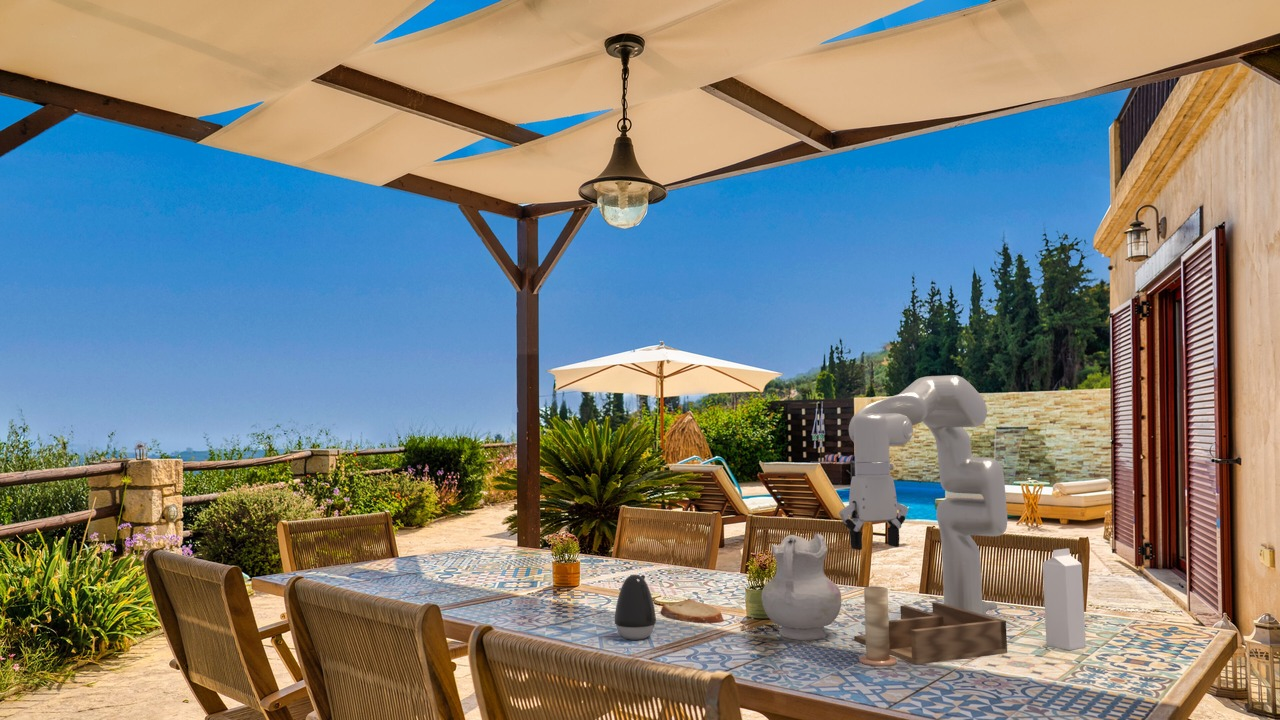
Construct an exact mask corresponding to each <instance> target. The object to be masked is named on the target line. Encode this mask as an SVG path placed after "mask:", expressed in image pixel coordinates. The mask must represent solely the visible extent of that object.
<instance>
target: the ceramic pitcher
mask: <svg viewBox="0 0 1280 720" xmlns="http://www.w3.org/2000/svg"><path fill="white" fill-rule="evenodd" d="M813 536H814V537H813V538H812V539H810V540H807V539H806V538H804V537H803V536H797V535H795V534H789V535H786V536H785V537H784V538H783V539H782V541H781V543H780V544H779V545H777V544H772V546H771V551H772V552H771V553H772V554H773V557H774V559H775V561H776V573H775V575H774V576H773V577H772V578H771V579H770V580H769V581H768V582H766V584H765V585H764V587H763V588H762V591H761V594H760V595H761V603H762V607H763V609H764V612H765V614H766V616H767V617H768V618H769V620H770V621H771V622H772V623H774V624H776V625H778V626H781V627H782V628H781V629H779V632H778V633H777V634H778V635H780V636H781V637H783V638H785V639H788V640H796V641H797V640H798V641H812V640H823V639H824V638H825V637H826V636H827V633H826V631H825V629H824V628H825V627H827V626H830V625H831V624H832V623H834V621H836V619H837V618H838V616H839V614H840V612H841V608H842V593H841V590H840V588H839V586H838V585H837V584H836V583H835V582H833V581H832V580H831V579H829V577H827V575H826V574H825V572H824V571H825V570H824V564H825V560H826V556H827V553H828V550H829V549H828V547H827V545H826V544H827V542H826V537H824V536H823V534H820V533H816V532H814V534H813Z"/></svg>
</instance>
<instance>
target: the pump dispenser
mask: <svg viewBox="0 0 1280 720" xmlns="http://www.w3.org/2000/svg"><path fill="white" fill-rule="evenodd" d="M645 578H646V576H645V575H644V574H642V575H638V574H631V575H628V577H626V579H624V581H623V583H622V585H621V587H620V590H619V593H618V598H617V602H616V605H615V614H614V624H615V627H616V630H617V632H618V633H619V635H620V636H622V638H624V639H626V640H631V641H635V640H636V641H637V640H638V641H639V640H644V639H646V638H648V637H649V636H651V634H652V633H653V632H654V628H655V624H657V615H656V609H655V605H654V600H653V596H652V593H651V590H650V588H649V585H648V583H647V581H646V580H645Z"/></svg>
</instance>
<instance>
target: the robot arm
mask: <svg viewBox="0 0 1280 720" xmlns="http://www.w3.org/2000/svg"><path fill="white" fill-rule="evenodd" d="M987 415H988V410H987V404H986V401H985V400H984V398H983V396H982V395H981V394H980V393H979V392H978V390H976V388H975V387H974V386H973V385H972V384H971V383H970V382H969V381H968V380H966V379H965V378H964V377H962V376H959V375H957V374H956V375H954V374H953V375H952V374H951V375H931V376H929V375H928V376H923V377H920V378H917V379H916V380H914V381H913V382H911V384H910V385H908V386H907V387H906V388H904V389H903V390H902V391H901V392H900V393H899V394H895V395H893V396H889V397H886V398H884V399H881V400H877V401H875V402H872V403H869V404H866V405H865V406H863V407H862V408H860V410H858V411H857V412H856V413H855V414H854V415H853V416H852V417H851V419H850V421H849V425H848V435H849V438H850V440H851V441H852V442H853V444H854V445H853V447H854V473H855V476H851V481H850V487H849V498H848V499H849V500H848V505H847V506H845V507H844V508H842V509H841V510H839V512H838V514H839V516H840V518H841V520H842V524H843V525H844V526H845V527H846V528H847V531H849V533H850V534H849V537H850V538H849V539H850V545H851V546H850V547H851V549H852V550H857V551H861V550H862V549H863V537H862V535H863V534H862V531H860V529H861V528H862V526H863V524H864V523H875V522H876V523H877V522H886V523H887V524H888V526H889V527H888V526H887V545H888V546H890V547H894V548H899V547H900V529H901V528H902V525H903V523H904V522H905V520H906V516H907V515H908V511H909V508H908V507H907V506H905V505H904V504H901V503H899V502H898V501H897V499H898V498H897V492H896V486H895V483H894V482H895V481H894V477H893V476H892V475H891V471H893V470H894V469H895V468H894V464H892V463H891V462H890V447H900V446H904V445H906V444H908V443H909V441H911V439H912V437H913V435H914V427H913V426H917V425H918V424H921V423H923V424H924V425H925V426H926V427H927V428H928V429H929V430H930V432H931V434H932V435H933V437H934V439H935V443H936V449H937V461H938V463H937V464H938V474H939V482H940V486H941V487H942V489H943V490H944V491H946V492H948V493H953V494H966V495H967V494H970V495H972V494H973V495H982V497H983V498H973V497H949V498H944V499H943V500H942V501H940V502H939V503H938V505H937V508H936V520H937V524H938V529H939V530H938V531H939V534H940V535H939V536H940V543H941V557H942V559H941V560H942V562H941V563H942V583H943V584H942V585H943V587H942V589H943V604H946V605H949V606H953V607H957V608H960V609H964V610H967V611H971V612H975V613H978V614H982V615H986V616H989V617H990V615H989V614H988V613H987V612H988V611H995V610H997V609H998V604H997V603H996V602H994V601H993V602H992V601H991V602H986V601H984V600H983V591H982V587H983V586H982V569H981V567H982V566H981V565H982V564H981V551H980V549H979V547H978V544H977V543H976V542H975V540H974V539H973V538H972V536H982V537H983V536H984V537H1000V536H1002V535H1003V534H1005V532H1006V531H1007V527H1008V510H1007V497H1006V487H1005V485H1006V483H1005V475H1004V470H1003V467H1002V465H1001V464H1000V463H999V461H998V460H996V458H995V459H994V458H992V457H975V456H974V455H973V454H972V447H971V446H972V445H971V439H970V436H969V434H968V432H967V430H966V429H965V428H977V427H980V426H981V425H983V423H984V422H985V421H986V419H987ZM984 424H985V423H984Z"/></svg>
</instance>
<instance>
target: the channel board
mask: <svg viewBox="0 0 1280 720" xmlns="http://www.w3.org/2000/svg"><path fill="white" fill-rule="evenodd" d="M931 604H932V612H929V611H926V610H923V609H919V608H915V607H913V606H909V605H906V604H905V605H900V606H899V607H900V609H899V610H900V619H893V620H889V649H890V656H893V657H895V658H899V659H902V660H904V661H906V662H909V663H911V664H914V665H924V664H930V663H931V664H932V663H940V662H946V661H947V662H948V661H954V660H962V659H970V658H977V657H978V658H979V657H985V656H993V655H994V656H995V655H1002V654H1007V653H1008V640H1007V639H1008V638H1007V621H1006V620H1003V619H999V618H997V617H996V618H995V617H992V616H990V615H989V616H986V615H982V614H978V613H975V612H971V611H967V610H964V609H960V608H957V607H953V606H949V605H946V604H944V603H942V602H939V601H936V602H935V601H934V602H932V603H931ZM853 640H854V641H855V642H857V643H860V644H862V645H865V646H866V635H865V634H860V635H853Z"/></svg>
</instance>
